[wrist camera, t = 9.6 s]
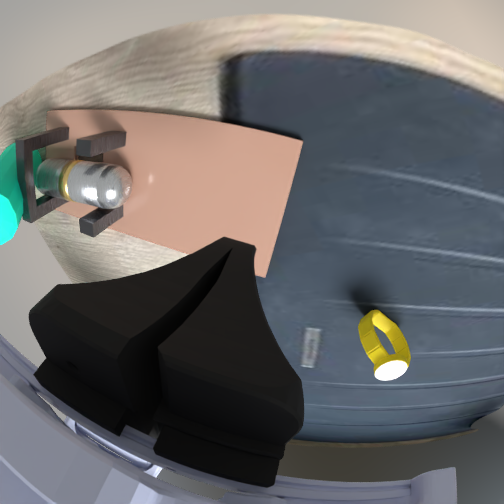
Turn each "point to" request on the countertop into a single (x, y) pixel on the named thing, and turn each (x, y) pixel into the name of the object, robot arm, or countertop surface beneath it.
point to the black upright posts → (45, 204)
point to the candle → (11, 192)
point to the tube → (84, 182)
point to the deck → (190, 177)
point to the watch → (384, 363)
